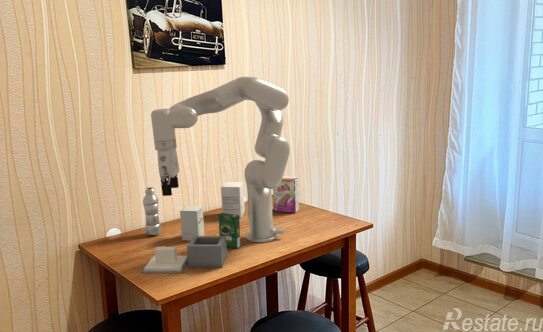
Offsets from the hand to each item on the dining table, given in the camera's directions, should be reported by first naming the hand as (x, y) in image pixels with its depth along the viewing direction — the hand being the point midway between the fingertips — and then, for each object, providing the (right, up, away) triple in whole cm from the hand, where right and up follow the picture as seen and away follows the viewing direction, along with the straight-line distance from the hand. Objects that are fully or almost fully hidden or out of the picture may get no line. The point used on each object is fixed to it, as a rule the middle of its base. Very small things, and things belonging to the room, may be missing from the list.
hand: (170, 191), depth 183 cm
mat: (-2, -26, 0) cm, 26 cm away
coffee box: (+20, -22, +15) cm, 34 cm away
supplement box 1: (+4, -20, +27) cm, 34 cm away
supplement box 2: (+18, -14, +54) cm, 59 cm away
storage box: (+13, -25, +1) cm, 29 cm away
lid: (-1, -26, 0) cm, 26 cm away
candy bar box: (+43, -12, +57) cm, 73 cm away
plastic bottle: (-14, -20, +32) cm, 40 cm away
